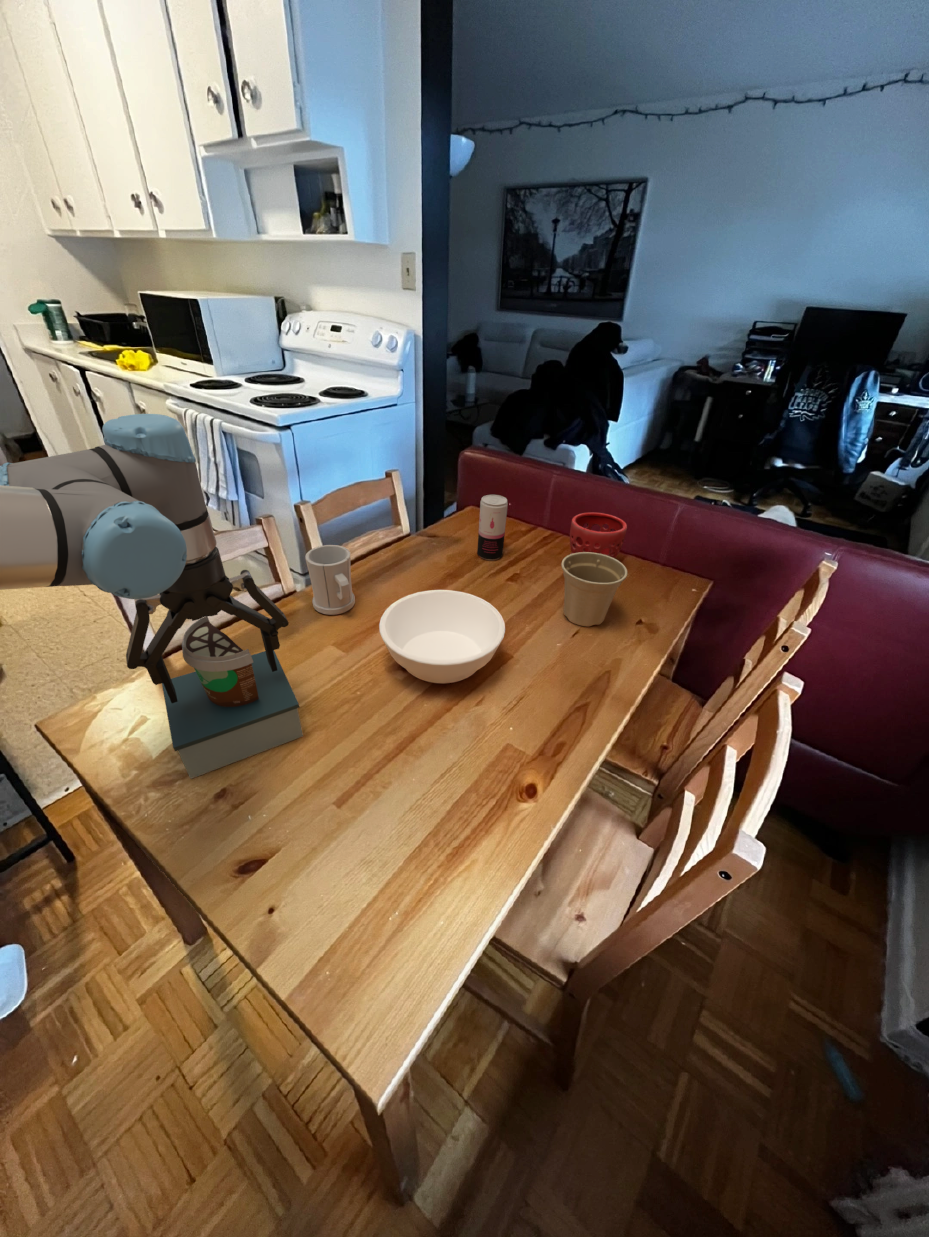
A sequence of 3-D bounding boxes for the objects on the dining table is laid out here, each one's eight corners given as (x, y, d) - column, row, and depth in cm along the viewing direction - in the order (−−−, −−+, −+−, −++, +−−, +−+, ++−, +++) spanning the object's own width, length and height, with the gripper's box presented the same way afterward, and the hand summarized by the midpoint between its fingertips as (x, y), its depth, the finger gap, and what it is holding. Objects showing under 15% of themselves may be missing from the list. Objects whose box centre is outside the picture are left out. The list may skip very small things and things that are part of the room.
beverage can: (505, 552, 130) (511, 497, 121) (497, 563, 125) (503, 507, 116) (482, 547, 131) (486, 492, 123) (473, 557, 126) (476, 501, 118)
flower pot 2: (549, 597, 113) (558, 549, 106) (607, 600, 113) (619, 553, 106) (556, 631, 102) (566, 581, 95) (620, 635, 102) (634, 585, 95)
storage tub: (188, 781, 70) (173, 747, 66) (175, 714, 80) (161, 681, 75) (305, 736, 77) (299, 703, 73) (280, 680, 87) (273, 648, 83)
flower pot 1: (623, 562, 128) (634, 519, 121) (606, 584, 119) (617, 538, 112) (575, 548, 133) (584, 505, 126) (556, 567, 124) (563, 523, 117)
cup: (369, 599, 109) (365, 550, 102) (349, 622, 102) (343, 571, 95) (326, 589, 111) (320, 541, 104) (304, 611, 104) (295, 561, 97)
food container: (182, 684, 75) (161, 632, 69) (221, 665, 79) (205, 614, 73) (224, 727, 69) (205, 673, 63) (264, 703, 73) (250, 650, 67)
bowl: (409, 717, 81) (408, 679, 76) (365, 640, 97) (362, 604, 92) (524, 678, 90) (529, 642, 85) (466, 613, 106) (468, 579, 101)
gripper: (280, 520, 69) (302, 641, 81) (60, 560, 57) (125, 693, 70) (296, 543, 63) (317, 668, 76) (58, 591, 52) (128, 729, 65)
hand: (225, 680), depth 73 cm, fingers open, 13 cm apart
